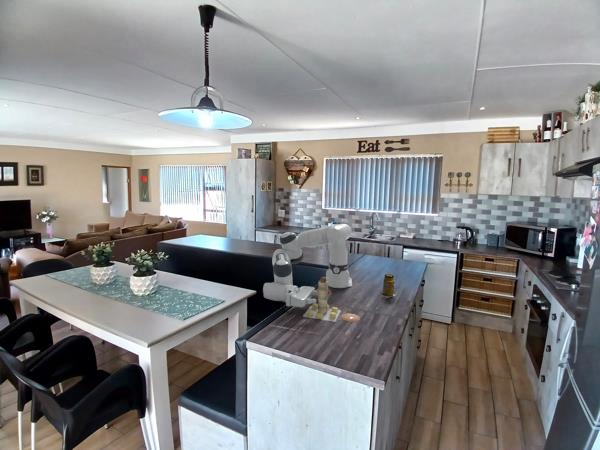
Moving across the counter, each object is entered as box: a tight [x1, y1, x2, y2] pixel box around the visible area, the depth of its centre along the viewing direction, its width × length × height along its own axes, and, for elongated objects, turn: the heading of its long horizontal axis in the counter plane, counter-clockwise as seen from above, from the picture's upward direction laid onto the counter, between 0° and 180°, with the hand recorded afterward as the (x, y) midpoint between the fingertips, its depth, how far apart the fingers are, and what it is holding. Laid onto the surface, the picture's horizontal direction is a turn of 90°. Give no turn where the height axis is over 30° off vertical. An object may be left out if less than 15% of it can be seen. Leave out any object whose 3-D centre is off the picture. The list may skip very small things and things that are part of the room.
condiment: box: [377, 273, 397, 299], centre depth 185 cm, size 7×8×12 cm
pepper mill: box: [317, 276, 329, 315], centre depth 155 cm, size 5×5×19 cm
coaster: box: [340, 312, 361, 323], centre depth 152 cm, size 9×9×1 cm
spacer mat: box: [302, 303, 341, 323], centre depth 156 cm, size 14×16×3 cm
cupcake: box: [316, 287, 332, 301], centre depth 174 cm, size 9×8×12 cm
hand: (318, 297), depth 155 cm, fingers open, 8 cm apart
